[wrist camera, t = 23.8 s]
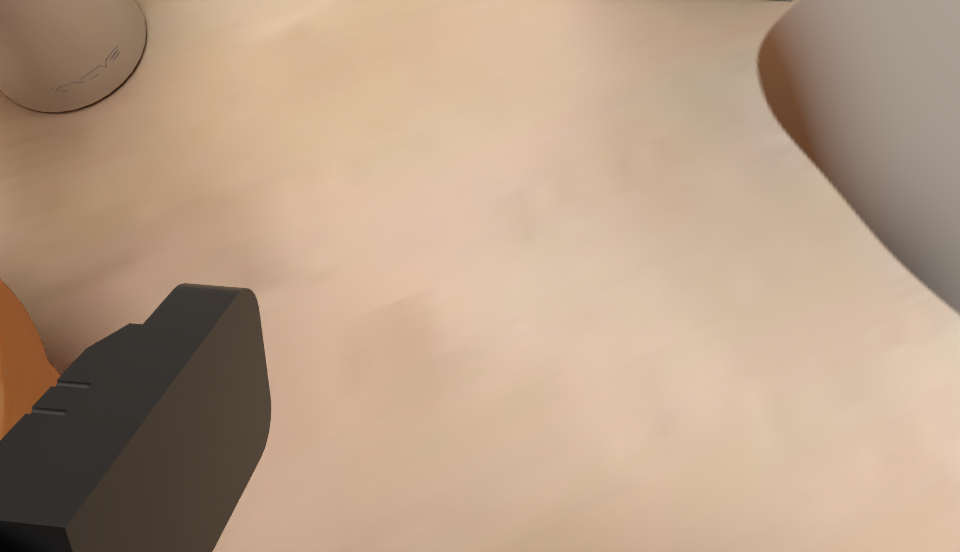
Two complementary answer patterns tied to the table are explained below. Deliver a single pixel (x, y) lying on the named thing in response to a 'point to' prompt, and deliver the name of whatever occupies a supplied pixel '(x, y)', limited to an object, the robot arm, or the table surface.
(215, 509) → the robot arm
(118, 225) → the table surface
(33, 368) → the flower pot
